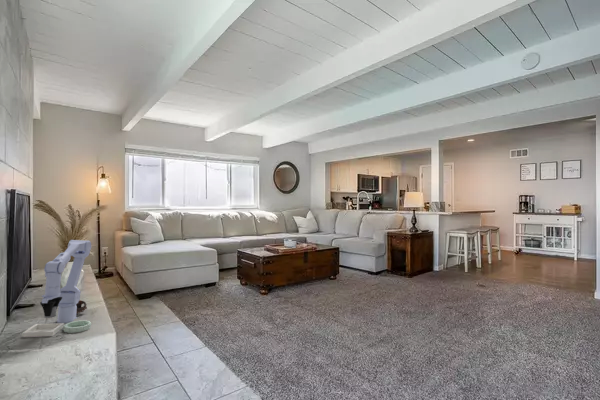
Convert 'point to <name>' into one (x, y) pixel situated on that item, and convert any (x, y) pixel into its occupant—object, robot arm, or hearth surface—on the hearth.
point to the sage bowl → (77, 326)
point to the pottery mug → (79, 308)
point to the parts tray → (43, 330)
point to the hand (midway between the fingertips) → (50, 314)
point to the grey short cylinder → (52, 312)
